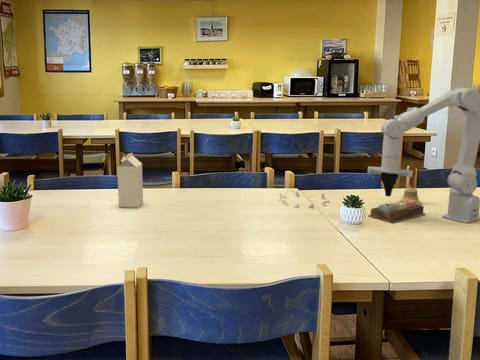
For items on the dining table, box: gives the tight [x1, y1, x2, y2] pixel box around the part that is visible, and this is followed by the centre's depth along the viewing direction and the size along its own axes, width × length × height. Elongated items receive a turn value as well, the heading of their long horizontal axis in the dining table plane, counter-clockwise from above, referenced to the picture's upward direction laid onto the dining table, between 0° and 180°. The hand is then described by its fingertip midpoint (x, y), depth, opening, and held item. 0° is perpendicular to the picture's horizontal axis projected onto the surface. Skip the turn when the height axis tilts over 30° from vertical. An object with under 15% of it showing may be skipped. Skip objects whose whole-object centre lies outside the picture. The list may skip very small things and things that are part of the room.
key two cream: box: [389, 200, 406, 211], centre depth 189 cm, size 4×4×3 cm
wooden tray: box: [368, 204, 426, 224], centre depth 189 cm, size 10×18×3 cm, turn 127°
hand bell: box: [398, 161, 422, 206], centre depth 205 cm, size 8×8×16 cm
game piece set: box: [277, 188, 330, 209], centre depth 208 cm, size 19×20×4 cm
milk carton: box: [116, 152, 144, 209], centre depth 198 cm, size 7×7×19 cm
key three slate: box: [378, 203, 396, 213], centre depth 186 cm, size 4×4×3 cm
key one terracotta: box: [399, 199, 416, 208], centre depth 192 cm, size 4×4×3 cm
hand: (388, 195), depth 185 cm, fingers closed
